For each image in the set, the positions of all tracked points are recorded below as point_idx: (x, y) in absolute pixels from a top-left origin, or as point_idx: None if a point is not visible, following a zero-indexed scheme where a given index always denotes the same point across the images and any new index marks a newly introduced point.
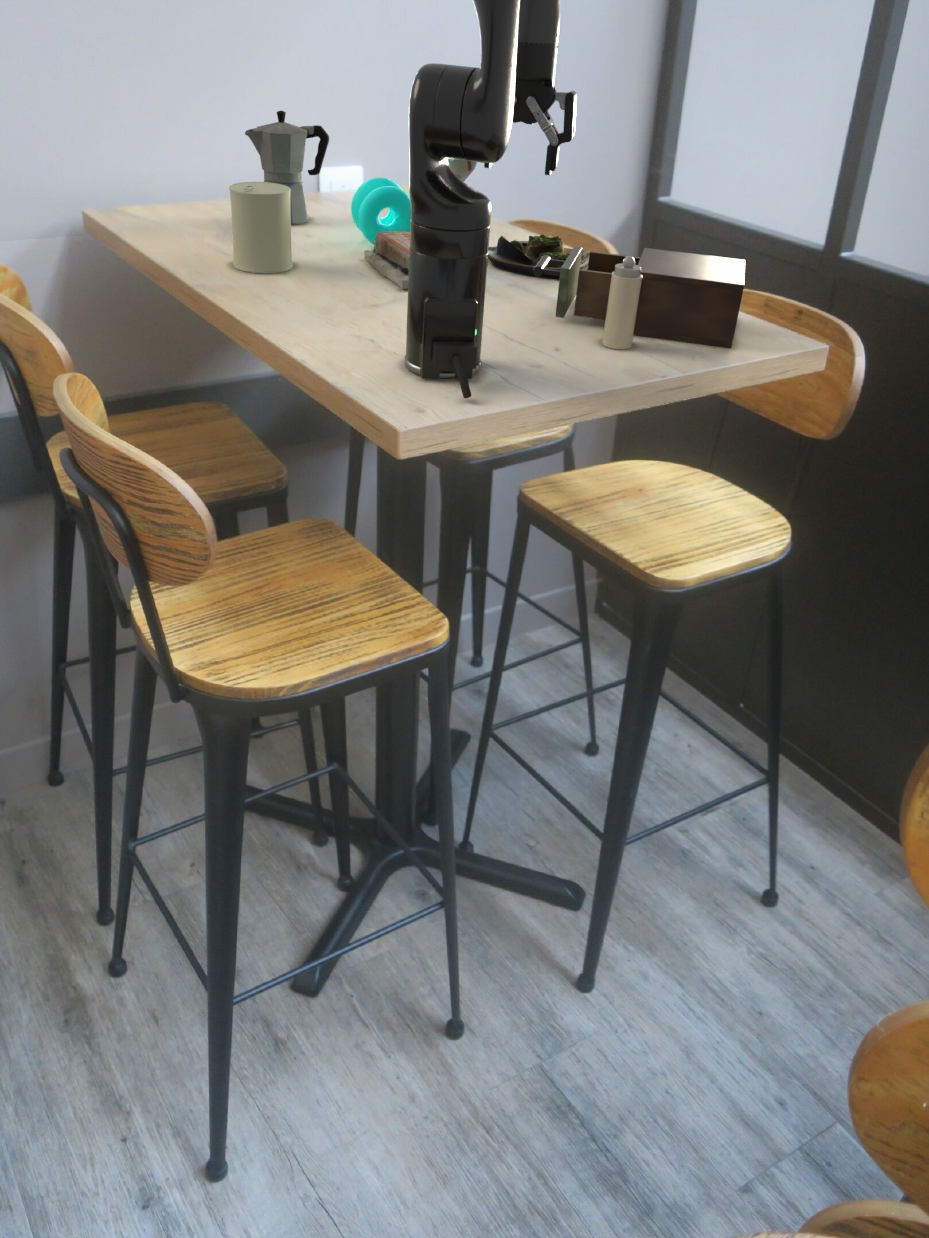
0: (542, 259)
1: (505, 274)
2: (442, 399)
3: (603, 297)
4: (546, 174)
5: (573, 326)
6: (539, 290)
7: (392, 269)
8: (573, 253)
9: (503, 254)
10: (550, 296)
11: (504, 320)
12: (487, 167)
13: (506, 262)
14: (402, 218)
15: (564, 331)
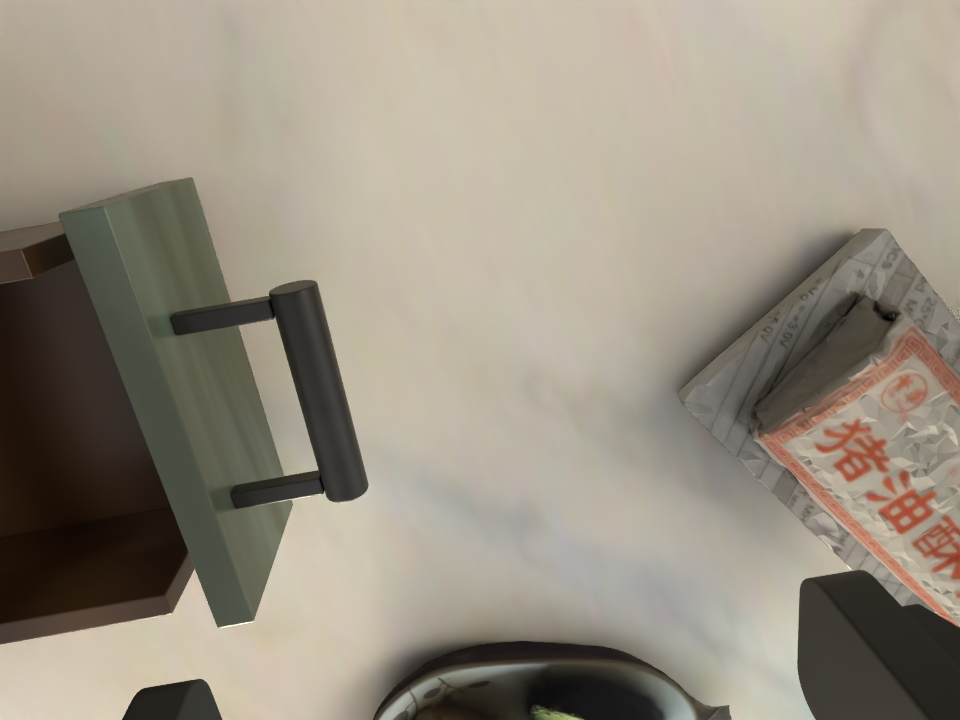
0: (328, 425)
1: (587, 615)
2: None
3: None
4: (183, 683)
5: (124, 184)
6: (422, 523)
7: (952, 352)
8: (196, 511)
9: (628, 696)
10: None
11: (384, 93)
12: (824, 578)
13: (602, 661)
14: None
15: (120, 94)
